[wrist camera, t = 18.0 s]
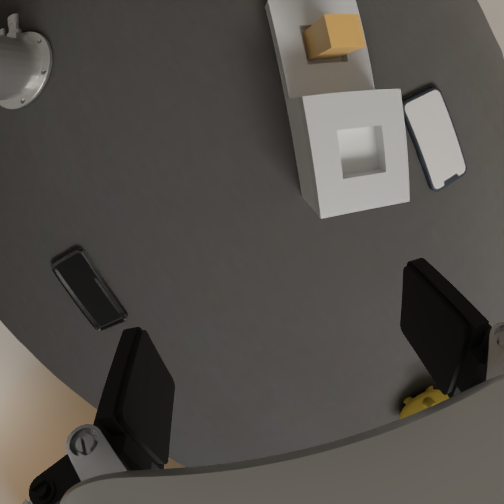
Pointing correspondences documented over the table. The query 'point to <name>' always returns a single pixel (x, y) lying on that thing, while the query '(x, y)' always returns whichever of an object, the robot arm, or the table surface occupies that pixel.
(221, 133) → the table surface
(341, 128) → the white stepped socket block
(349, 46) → the plug
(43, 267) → the table surface
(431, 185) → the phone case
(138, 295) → the table surface
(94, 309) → the phone
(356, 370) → the table surface
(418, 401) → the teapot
